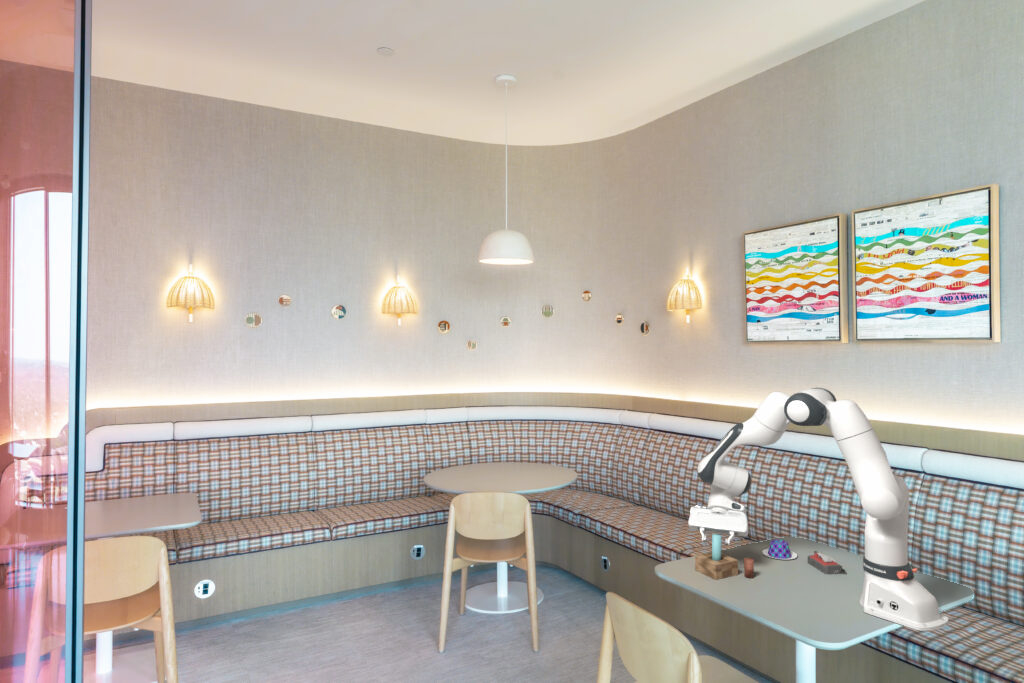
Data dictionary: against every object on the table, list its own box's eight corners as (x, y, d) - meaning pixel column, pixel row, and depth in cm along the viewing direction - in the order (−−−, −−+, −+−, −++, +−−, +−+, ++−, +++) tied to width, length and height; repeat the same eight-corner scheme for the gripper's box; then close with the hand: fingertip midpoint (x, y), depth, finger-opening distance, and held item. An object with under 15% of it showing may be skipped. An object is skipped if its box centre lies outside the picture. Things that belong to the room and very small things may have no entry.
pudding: (788, 564, 220) (788, 549, 220) (756, 555, 229) (756, 541, 229) (802, 555, 228) (802, 541, 228) (771, 547, 237) (770, 534, 237)
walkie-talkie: (851, 575, 209) (817, 555, 229) (851, 562, 209) (817, 543, 229) (827, 576, 208) (795, 556, 228) (827, 564, 208) (794, 544, 228)
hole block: (738, 574, 210) (737, 560, 210) (715, 580, 206) (715, 565, 206) (716, 565, 219) (716, 551, 219) (695, 570, 215) (695, 555, 215)
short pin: (755, 577, 208) (755, 559, 208) (749, 579, 206) (749, 561, 206) (748, 574, 210) (748, 557, 210) (742, 575, 209) (742, 558, 209)
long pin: (722, 573, 212) (723, 535, 212) (716, 574, 211) (716, 537, 210) (716, 570, 215) (716, 533, 214) (710, 571, 213) (710, 534, 213)
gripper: (689, 500, 224) (683, 534, 215) (748, 506, 214) (745, 542, 205) (692, 509, 227) (686, 543, 219) (750, 515, 218) (747, 552, 209)
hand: (715, 543), depth 212 cm, fingers open, 6 cm apart
